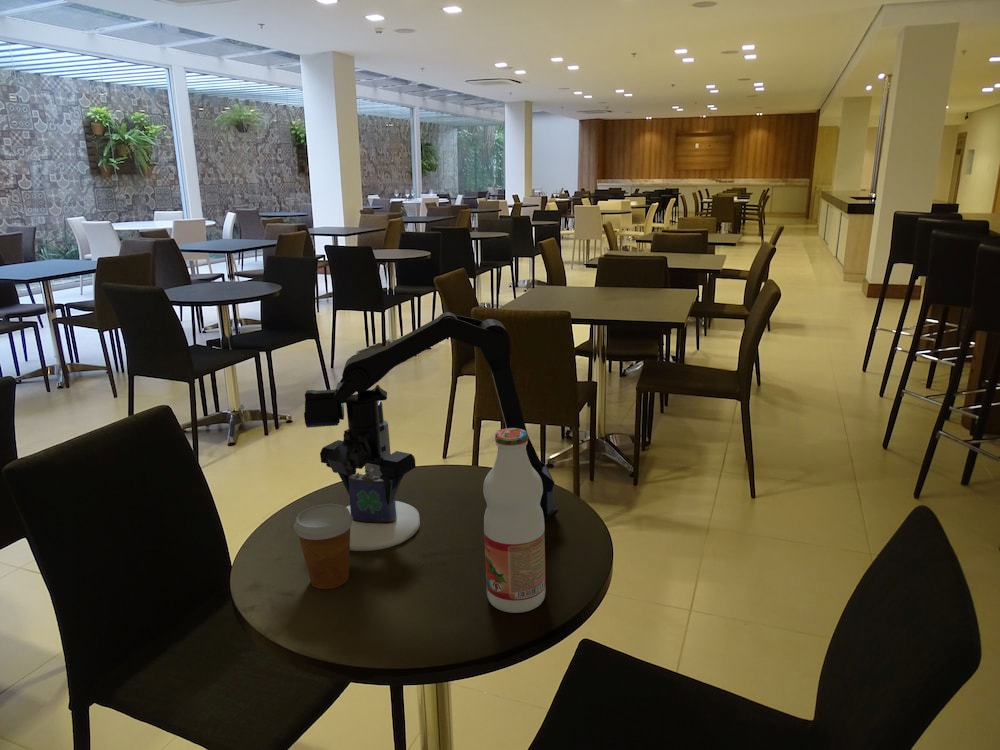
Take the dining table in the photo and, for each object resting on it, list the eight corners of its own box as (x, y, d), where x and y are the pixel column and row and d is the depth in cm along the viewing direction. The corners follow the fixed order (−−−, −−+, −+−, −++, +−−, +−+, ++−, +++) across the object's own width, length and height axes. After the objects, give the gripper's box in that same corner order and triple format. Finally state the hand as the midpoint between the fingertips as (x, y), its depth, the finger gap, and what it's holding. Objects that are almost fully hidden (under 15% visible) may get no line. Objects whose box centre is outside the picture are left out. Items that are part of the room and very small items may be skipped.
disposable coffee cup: (308, 601, 115) (300, 534, 112) (295, 573, 123) (287, 510, 120) (365, 584, 119) (359, 519, 116) (349, 559, 128) (343, 497, 124)
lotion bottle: (395, 483, 159) (389, 397, 153) (389, 494, 153) (382, 405, 148) (370, 483, 159) (363, 397, 154) (363, 494, 154) (355, 405, 148)
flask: (398, 518, 139) (394, 467, 136) (393, 525, 136) (389, 473, 133) (354, 515, 141) (349, 464, 138) (348, 522, 138) (342, 470, 135)
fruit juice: (540, 617, 109) (537, 445, 101) (480, 611, 111) (472, 442, 103) (549, 583, 118) (547, 423, 110) (494, 578, 120) (488, 421, 112)
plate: (437, 517, 142) (437, 510, 142) (381, 559, 127) (380, 551, 127) (366, 500, 151) (365, 493, 150) (305, 538, 136) (304, 531, 135)
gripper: (295, 429, 131) (304, 507, 135) (376, 444, 122) (383, 527, 126) (336, 411, 140) (343, 484, 144) (414, 424, 131) (419, 502, 135)
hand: (370, 499), depth 137 cm, fingers open, 9 cm apart
